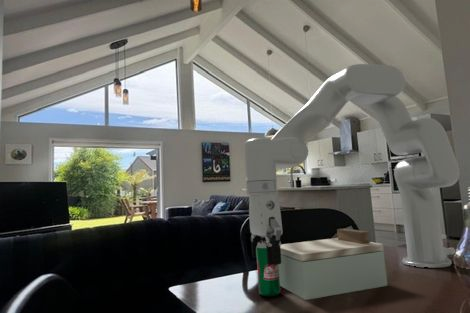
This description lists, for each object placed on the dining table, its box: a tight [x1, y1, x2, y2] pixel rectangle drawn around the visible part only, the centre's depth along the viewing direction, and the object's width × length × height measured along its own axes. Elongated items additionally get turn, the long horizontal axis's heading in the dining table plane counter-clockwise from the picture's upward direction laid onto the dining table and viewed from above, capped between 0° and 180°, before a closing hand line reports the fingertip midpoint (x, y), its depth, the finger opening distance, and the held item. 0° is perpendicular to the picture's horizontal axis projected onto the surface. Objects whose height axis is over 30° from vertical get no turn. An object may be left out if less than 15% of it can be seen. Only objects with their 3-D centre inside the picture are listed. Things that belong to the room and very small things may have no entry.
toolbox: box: [278, 250, 388, 301], centre depth 84 cm, size 22×16×8 cm
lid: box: [280, 228, 384, 261], centre depth 84 cm, size 22×16×4 cm
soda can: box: [256, 240, 281, 298], centre depth 79 cm, size 5×5×12 cm
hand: (266, 260), depth 79 cm, fingers open, 9 cm apart
